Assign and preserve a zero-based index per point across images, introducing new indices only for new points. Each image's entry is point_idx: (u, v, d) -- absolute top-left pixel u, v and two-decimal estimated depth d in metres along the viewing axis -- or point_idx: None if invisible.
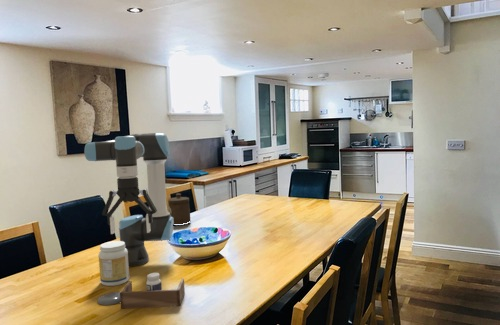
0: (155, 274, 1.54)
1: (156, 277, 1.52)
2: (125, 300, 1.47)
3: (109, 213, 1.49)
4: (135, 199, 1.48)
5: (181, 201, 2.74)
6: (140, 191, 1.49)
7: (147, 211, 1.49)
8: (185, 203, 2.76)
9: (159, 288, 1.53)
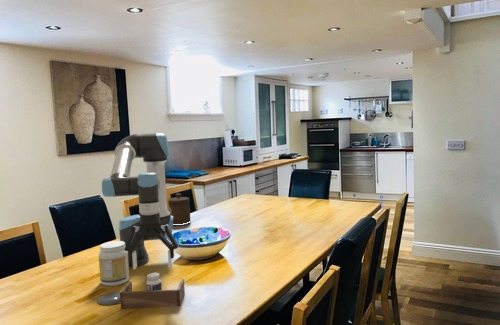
0: (155, 274, 1.54)
1: (156, 277, 1.52)
2: (125, 300, 1.47)
3: (131, 249, 1.51)
4: (157, 235, 1.51)
5: (181, 201, 2.74)
6: (162, 227, 1.52)
7: (169, 246, 1.52)
8: (185, 203, 2.76)
9: (159, 288, 1.53)
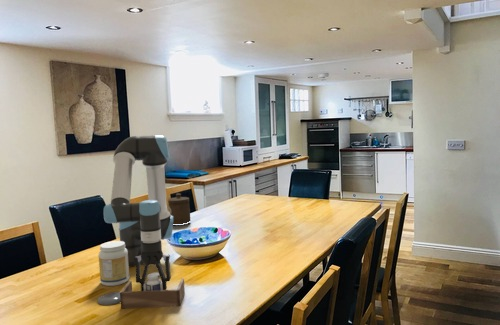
0: (155, 274, 1.54)
1: (156, 277, 1.52)
2: (125, 300, 1.47)
3: (142, 280, 1.52)
4: (156, 264, 1.52)
5: (181, 201, 2.74)
6: (163, 256, 1.53)
7: (162, 279, 1.53)
8: (185, 203, 2.76)
9: (159, 288, 1.53)
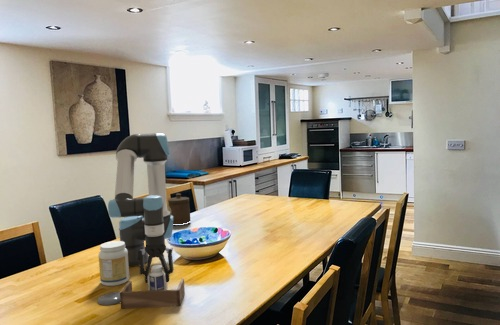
0: (158, 266, 1.60)
1: (159, 269, 1.59)
2: (125, 300, 1.47)
3: (146, 272, 1.59)
4: (160, 256, 1.58)
5: (181, 201, 2.74)
6: (166, 249, 1.59)
7: (165, 270, 1.59)
8: (185, 203, 2.76)
9: (162, 279, 1.60)
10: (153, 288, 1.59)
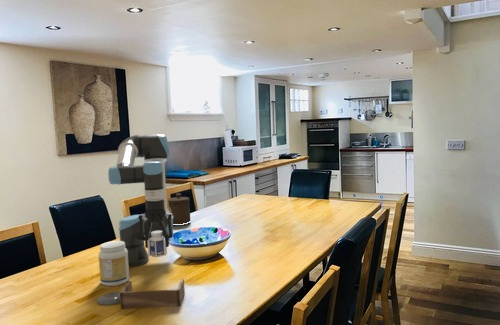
0: (158, 231, 1.63)
1: (159, 234, 1.61)
2: (125, 300, 1.47)
3: (146, 237, 1.61)
4: (160, 221, 1.61)
5: (181, 201, 2.74)
6: (166, 214, 1.62)
7: (165, 235, 1.62)
8: (185, 203, 2.76)
9: (162, 244, 1.62)
10: (153, 252, 1.61)
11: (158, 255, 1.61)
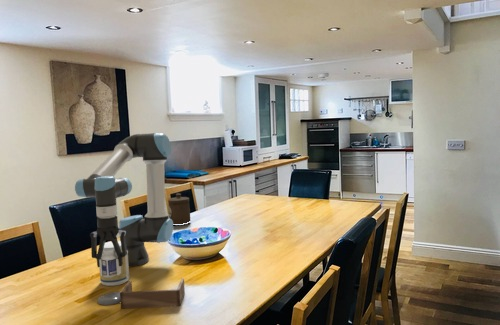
0: (111, 250, 1.55)
1: (112, 252, 1.53)
2: (125, 300, 1.47)
3: (98, 255, 1.53)
4: (112, 239, 1.53)
5: (181, 201, 2.74)
6: (119, 231, 1.54)
7: (118, 254, 1.54)
8: (185, 203, 2.76)
9: (115, 263, 1.54)
10: (105, 272, 1.53)
11: (110, 275, 1.53)
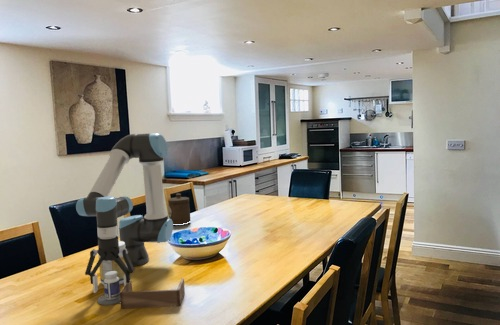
0: (113, 273, 1.55)
1: (113, 275, 1.54)
2: (125, 300, 1.47)
3: (92, 273, 1.54)
4: (114, 259, 1.53)
5: (181, 201, 2.74)
6: (120, 251, 1.54)
7: (125, 271, 1.54)
8: (185, 203, 2.76)
9: (117, 286, 1.55)
10: (107, 295, 1.54)
11: (112, 298, 1.54)
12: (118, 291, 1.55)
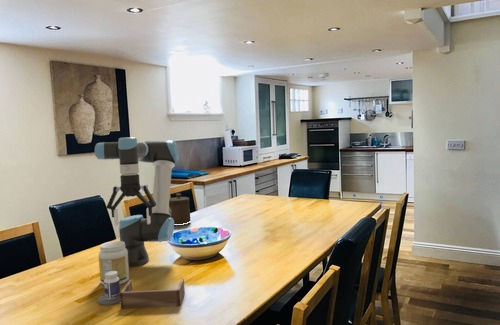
0: (113, 273, 1.55)
1: (114, 275, 1.54)
2: (125, 300, 1.47)
3: (113, 206, 1.65)
4: (136, 194, 1.64)
5: (181, 201, 2.74)
6: (141, 187, 1.66)
7: (147, 205, 1.65)
8: (185, 203, 2.76)
9: (117, 286, 1.55)
10: (107, 295, 1.54)
11: (112, 298, 1.54)
12: (118, 291, 1.56)
